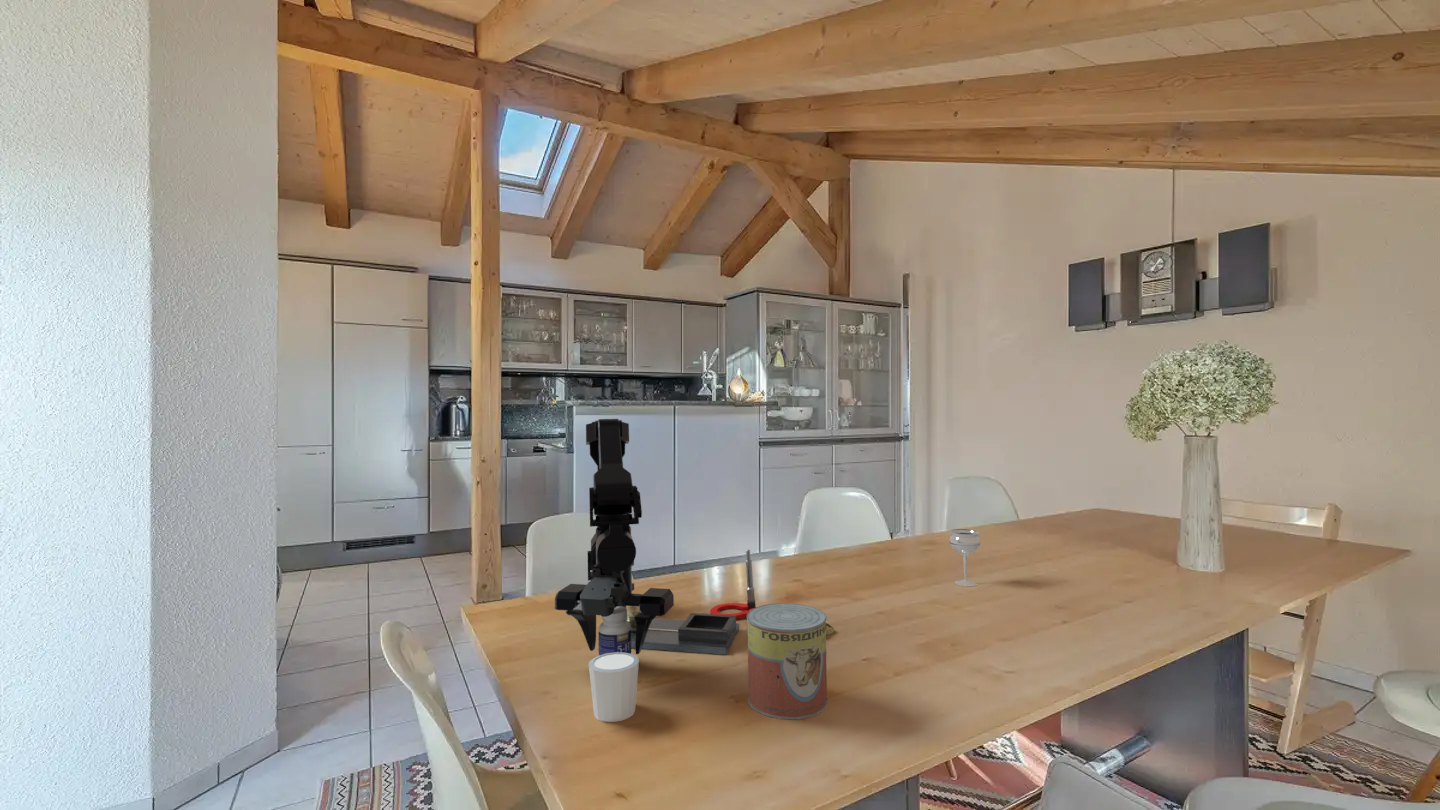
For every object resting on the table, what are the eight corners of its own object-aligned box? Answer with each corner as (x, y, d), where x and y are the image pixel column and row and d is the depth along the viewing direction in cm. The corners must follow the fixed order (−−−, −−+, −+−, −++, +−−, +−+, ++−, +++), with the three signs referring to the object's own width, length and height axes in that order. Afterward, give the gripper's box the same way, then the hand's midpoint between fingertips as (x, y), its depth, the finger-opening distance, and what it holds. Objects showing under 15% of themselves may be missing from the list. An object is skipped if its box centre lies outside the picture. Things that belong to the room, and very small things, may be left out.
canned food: (771, 726, 81) (770, 634, 82) (735, 691, 92) (733, 609, 92) (843, 709, 86) (842, 621, 86) (801, 677, 96) (800, 599, 96)
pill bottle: (621, 673, 99) (620, 616, 99) (592, 668, 100) (591, 613, 101) (637, 660, 104) (636, 606, 104) (609, 656, 105) (608, 603, 106)
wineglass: (953, 587, 142) (952, 534, 142) (947, 578, 149) (946, 528, 149) (984, 588, 141) (983, 535, 141) (977, 579, 148) (976, 529, 148)
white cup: (592, 701, 89) (591, 652, 89) (640, 698, 90) (639, 650, 90) (586, 725, 82) (585, 672, 82) (638, 722, 83) (637, 670, 83)
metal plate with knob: (598, 645, 110) (598, 604, 110) (623, 622, 122) (623, 585, 122) (725, 654, 105) (725, 612, 105) (739, 629, 117) (738, 591, 117)
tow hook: (708, 623, 122) (756, 620, 122) (704, 557, 123) (751, 554, 122) (711, 609, 131) (755, 607, 130) (707, 547, 131) (751, 545, 130)
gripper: (537, 566, 96) (538, 667, 96) (652, 571, 92) (653, 677, 92) (569, 550, 107) (571, 640, 107) (673, 554, 103) (675, 648, 103)
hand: (615, 651), depth 102 cm, fingers open, 8 cm apart
